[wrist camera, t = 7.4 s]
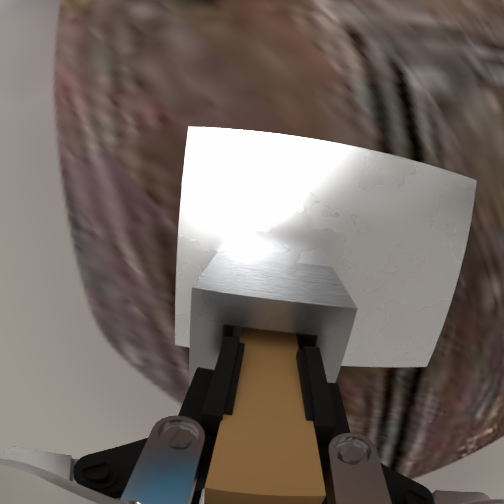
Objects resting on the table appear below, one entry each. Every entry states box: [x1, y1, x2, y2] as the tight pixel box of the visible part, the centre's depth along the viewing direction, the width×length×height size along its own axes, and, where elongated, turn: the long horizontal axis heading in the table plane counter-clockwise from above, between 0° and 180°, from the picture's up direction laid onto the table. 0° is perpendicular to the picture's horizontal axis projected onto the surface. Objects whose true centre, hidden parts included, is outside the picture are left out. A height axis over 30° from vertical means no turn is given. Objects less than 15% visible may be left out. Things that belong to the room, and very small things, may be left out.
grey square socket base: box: [175, 127, 477, 387], centre depth 13 cm, size 16×12×6 cm
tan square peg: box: [204, 327, 326, 504], centre depth 9 cm, size 2×2×10 cm
